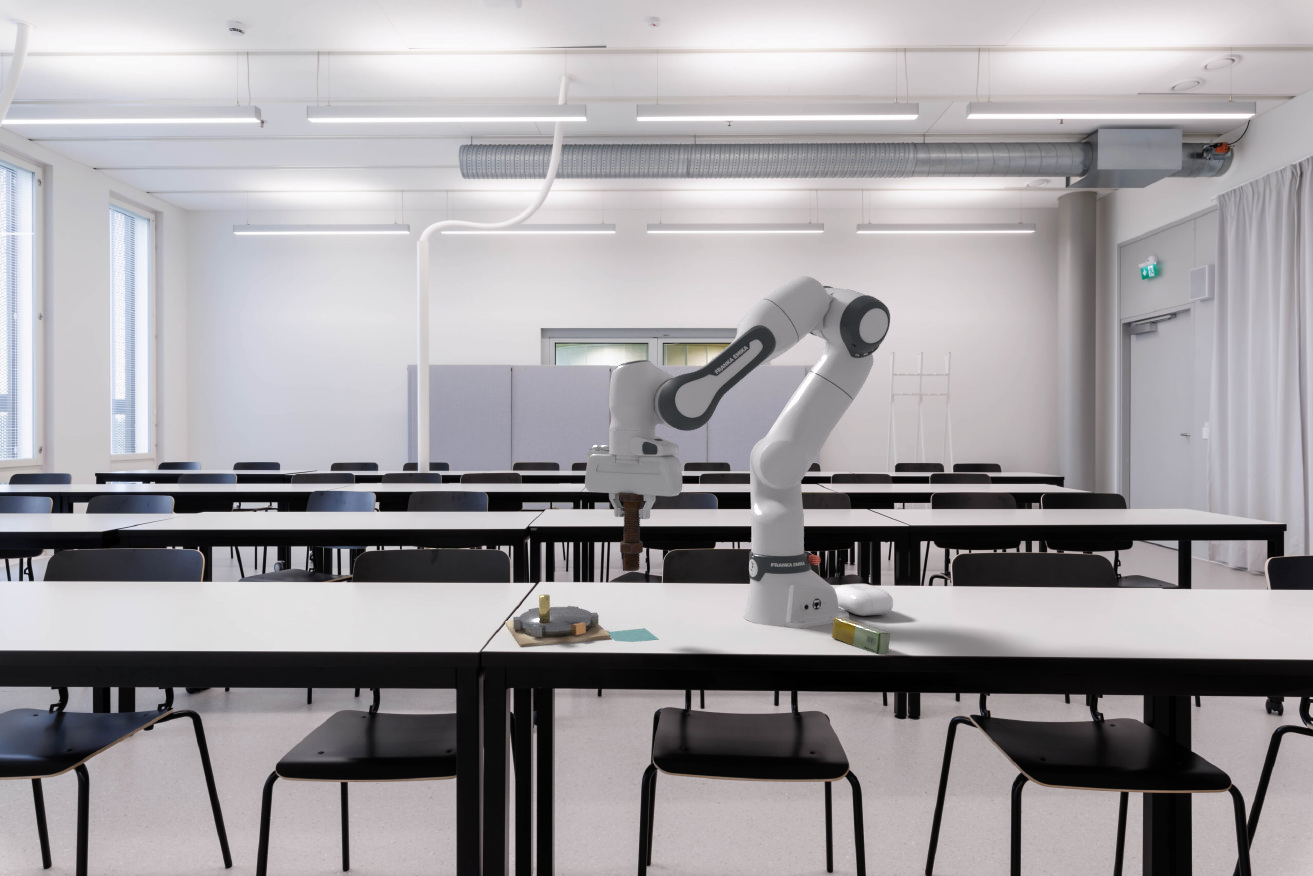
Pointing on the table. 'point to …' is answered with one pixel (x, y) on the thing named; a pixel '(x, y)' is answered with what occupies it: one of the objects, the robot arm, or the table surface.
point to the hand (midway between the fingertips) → (632, 517)
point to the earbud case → (864, 599)
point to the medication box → (861, 635)
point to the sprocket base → (527, 640)
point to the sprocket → (554, 620)
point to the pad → (632, 635)
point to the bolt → (631, 531)
